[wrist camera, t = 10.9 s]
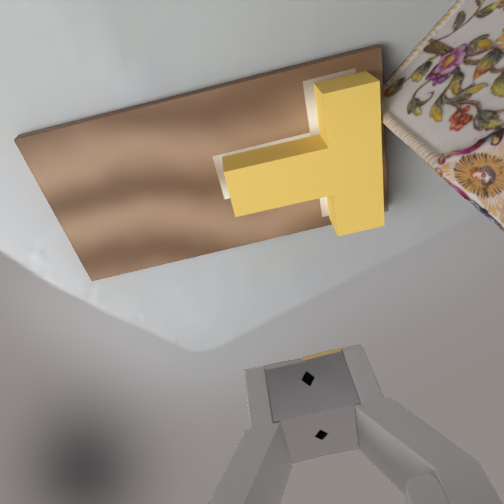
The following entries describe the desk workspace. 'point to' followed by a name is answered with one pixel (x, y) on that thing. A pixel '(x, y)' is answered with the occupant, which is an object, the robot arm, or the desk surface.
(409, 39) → the desk surface
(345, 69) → the board
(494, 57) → the decorative jar
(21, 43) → the desk surface
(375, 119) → the t block
